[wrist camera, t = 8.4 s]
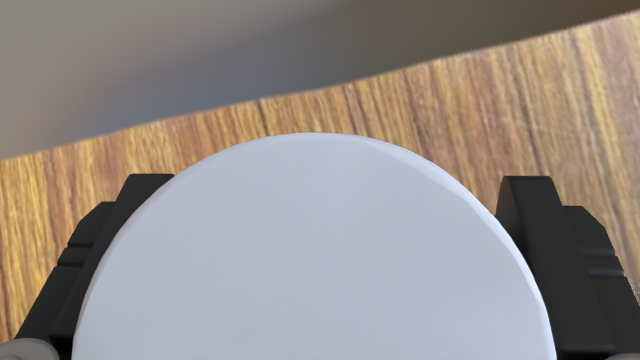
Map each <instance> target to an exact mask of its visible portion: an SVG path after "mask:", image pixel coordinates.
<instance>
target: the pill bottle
mask: <svg viewBox="0 0 640 360" xmlns="http://www.w3.org/2000/svg"><path fill="white" fill-rule="evenodd" d="M71 360H557V355H556V351H555V346H554V341H553V336H552V332H551V327H550V323H549V318H548V314H547V310H546V307H545V305H544V302H543V299H542V296H541V294H540V291H539V289H538V287H537V285H536V282H535V280H534V277H533V275H532V273H531V271H530V269H529V267H528V265H527V263H526V262H525V260H524V258H523V256H522V255H521V253H520V251H519V250H518V248H517V247H516V245H515V244H514V242H513V240H512V239H511V237H510V236H509V235H508V233H507V232H506V231H505V229H504V228H503V227H502V226H501V224H500V223H499V221H498V220H497V219H496V218H495V217H494V216H493V215H492V214H491V213H490V212H489V211H488V210H487V209H486V208H485V207H484V206H483V205H482V204H481V203H480V202H479V201H478V200H477V199H476V198H475V197H474V196H473V195H472V194H471V193H470V192H469V191H468V190H467V189H466V188H465V187H464V186H463V185H462V184H460V183H459V182H458V181H457V180H456V179H455V178H453V177H452V176H451V175H450V174H448V173H447V172H446V171H444V170H443V169H441V168H440V167H438V166H437V165H435V164H434V163H432V162H430V161H428V160H427V159H425V158H423V157H421V156H419V155H417V154H416V153H414V152H411V151H409V150H407V149H405V148H402V147H400V146H397V145H393V144H390V143H387V142H384V141H381V140H377V139H372V138H368V137H364V136H358V135H350V134H336V133H313V132H308V133H293V134H284V135H276V136H268V137H263V138H259V139H254V140H251V141H248V142H245V143H241V144H237V145H234V146H231V147H229V148H227V149H224V150H222V151H220V152H217V153H215V154H213V155H210V156H208V157H206V158H204V159H203V160H201V161H199V162H197V163H195V164H193V165H192V166H190V167H188V168H186V169H184V170H183V171H181V172H180V173H179V174H177V175H176V176H175V177H173V178H172V179H171V180H169V181H168V182H167V183H165V184H164V185H163V186H161V187H160V188H159V189H158V190H157V191H156V192H155V193H153V194H152V195H151V196H150V197H149V198H148V199H147V200H146V201H145V202H144V203H143V204H142V205H141V206H140V207H139V208H138V209H137V210H136V211H135V212H134V213H133V214H132V215H131V216H130V218H129V219H128V220H127V221H126V223H125V224H124V225H123V226H122V228H121V229H120V230H119V231H118V232H117V234H116V235H115V237H114V239H113V241H112V242H111V244H110V246H109V247H108V249H107V251H106V252H105V254H104V255H103V257H102V259H101V260H100V262H99V264H98V267H97V270H96V271H95V273H94V275H93V277H92V280H91V283H90V285H89V287H88V290H87V292H86V294H85V297H84V300H83V304H82V307H81V311H80V314H79V318H78V322H77V326H76V330H75V334H74V338H73V348H72V359H71Z"/></svg>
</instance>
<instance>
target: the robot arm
mask: <svg viewBox="0 0 640 360" xmlns="http://www.w3.org/2000/svg"><path fill="white" fill-rule="evenodd" d="M173 177H175V175H174V174H131V175H129V176H128V178H127V179H126V181H125V183H124V185H123V187H122V189H121V191H120V193H119V195H118V197H117V199H116V201H115V202H101V203H100V204H99V205H97V206H96V207H95V208H94V209H93V210H92V211H91V212H89V213H88V214H87V215H86V216H85V217H84V218H83V219H81V220H80V222H79V223H78V225H77V227H76V229H75V231H74V232H73V234H72V236H71V238H70V240H69V241H68V243H67V244H68V247H67V248H65V249H64V250H63V252H62V254H61V256H60V258H59V259H58V261H57V267H54V268H53V270H52V272H51V274H50V276H49V277H48V279H47V281H46V283H45V285H44V286H43V288H42V290H41V292H40V294H39V295H38V297H37V299H36V301H35V303H34V304H33V306H32V308H31V310H30V312H29V313H28V315H27V317H26V319H25V321H24V322H23V324H22V326H21V328H20V330H19V331H18V333H17V335H16V337H15V338H14V340H10V341H7V342H4V343H1V344H0V360H71V359H72V348H73V338H74V334H75V330H76V326H77V322H78V318H79V314H80V311H81V307H82V304H83V300H84V297H85V294H86V292H87V290H88V287H89V285H90V283H91V280H92V277H93V275H94V273H95V271H96V270H97V267H98V264H99V262H100V260H101V259H102V257H103V255H104V254H105V252H106V251H107V249H108V247H109V246H110V244H111V242H112V241H113V239H114V237H115V235H116V234H117V232H118V231H119V230H120V229H121V228H122V226H123V225H124V224H125V223H126V221H127V220H128V219H129V218H130V216H131V215H132V214H133V213H134V212H135V211H136V210H137V209H138V208H139V207H140V206H141V205H142V204H143V203H144V202H145V201H146V200H147V199H148V198H149V197H150V196H151V195H152V194H153V193H155V192H156V191H157V190H158V189H159V188H160V187H161V186H163V185H164V184H165V183H167V182H168V181H169V180H171V179H172V178H173ZM495 218H496V219H497V220H498V221H499V223H500V224H501V226H502V227H503V228H504V229H505V231H506V232H507V233H508V235H509V236H510V237H511V239H512V240H513V242H514V244H515V245H516V247H517V248H518V250H519V251H520V253H521V255H522V256H523V258H524V260H525V262H526V263H527V265H528V267H529V269H530V271H531V273H532V275H533V277H534V280H535V282H536V285H537V287H538V289H539V291H540V294H541V296H542V299H543V302H544V305H545V307H546V310H547V314H548V318H549V323H550V327H551V332H552V336H553V341H554V346H555V351H556V355H557V360H640V306H639V304H638V302H637V300H636V297H635V295H634V293H633V291H632V289H631V286H630V284H629V282H628V280H627V277H624V271H623V268H622V266H621V264H620V262H619V259H618V257H617V256H615V250H614V248H613V246H612V244H611V241H610V239H609V237H608V235H607V233H606V230H605V228H604V227H603V226H602V225H601V224H600V223H599V222H598V221H597V220H596V219H595V218H594V217H593V216H592V215H591V214H590V213H589V212H588V211H587V210H586V209H585V208H584V207H583V206H562V204H561V201H560V198H559V196H558V193H557V191H556V188H555V185H554V183H553V180H552V179H551V177H549V176H504V177H503V179H502V182H501V186H500V192H499V197H498V203H497V208H496V214H495Z"/></svg>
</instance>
